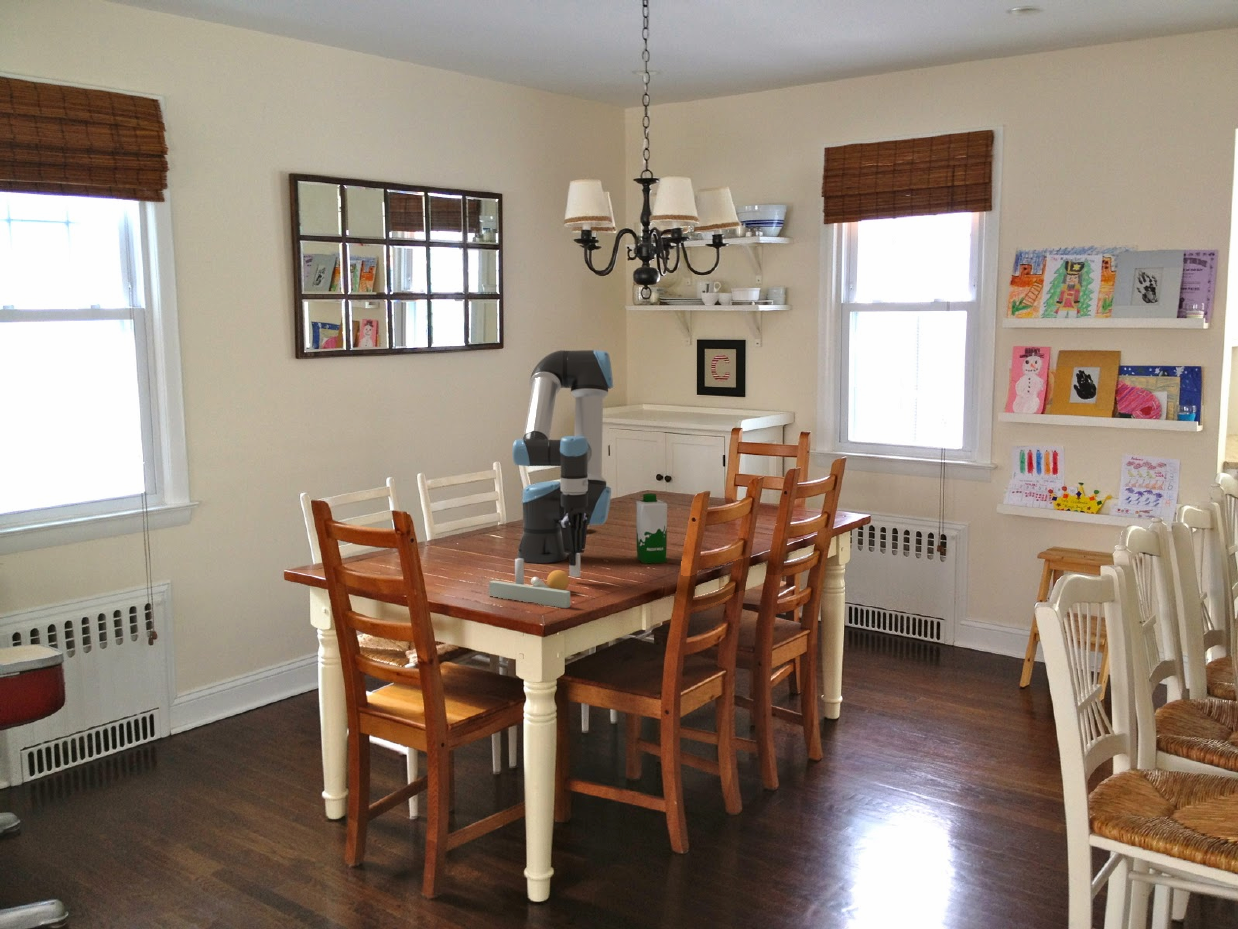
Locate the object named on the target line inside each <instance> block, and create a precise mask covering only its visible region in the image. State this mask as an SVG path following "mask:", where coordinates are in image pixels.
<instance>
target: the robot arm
mask: <svg viewBox="0 0 1238 929" xmlns="http://www.w3.org/2000/svg"><path fill="white" fill-rule="evenodd" d="M611 362H612V361H611V357H610V355H609V353H608V352H607V351H605V350H595V349H592V350H589V349H588V350H587V349H586V350H562V349H561V350H556V351H553V352H551V353H549V354H548V355H546V356H545V357H543V358H542V359H541V360H540V361H539V362H538V363H537V364H536V366H535V367H534V368H533V370H532V372H531V375H530V378H529V379H530V380H529V388H530V390H531V392H530V398H529V401H528V402H529V403H528V408H527V413H526V418H525V424H524V429H523V435H522V438H519V439H515V440H514V442H513V444H512V460H513V463H514V464H515V465H517V466H522V467H560V480H559V481H558V480H557V481H556V480H555V481H553V480H549V481H542V482H537V483H533V484H528V485H527V486H525V487H524V489H523V491H522V501H521V502H522V503H521V504H522V531H523V532H522V536H521V540H520V542H519V547H518V549H517V558H523V559H524V563H525V562H526V563H534V564H550V563H557V562H563V561H565V560H567V559H568V566H569V567H568V570H569V571H568V572H569V574H568V577H571V578H572V577H573V578H580V577H581V554H584V553H585V549H586V545H587V542H586V541H587V536H588V535H587V534H588V526H590V527H591V526H601V525H604V524H605V523H606V521H607V520H608V516H609V512H610V508H611V507H610V505H611V498H612V497H611V495H612V488H611V487H609V486H607V480H606V479H605V478H604V477H603V475H602V472H603V471H602V468H603V467H602V466H603V428H604V427H603V425H604V422H603V421H604V420H603V419H604V400H605V398H607V396H608V395H609V390H610V389H613V387H614V381H613V379H614V378H613V371H612V370H613V369H612V363H611ZM561 389H570V395H571V396H572V397H573V398H574V400H575V401H574V402H575V404H574V435H567V436H566V435H565V436H562V437H561V439H550V435H551V430H552V422H553V417H554V411H555V410H554V409H555V405H556V398H557V394H558V393H560V390H561Z"/></svg>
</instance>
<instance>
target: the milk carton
mask: <svg viewBox="0 0 1238 929" xmlns="http://www.w3.org/2000/svg"><path fill="white" fill-rule="evenodd" d="M635 504H636V556H637V557H636V558H637V559H638V561H640V562H641V563H643V564H659V563H667V551H668V550H667V548H668V547H667V545H668V544H667V542H668V537H667V536H668V530H667V529H668V526H667V525H668V503H666V502H665V501H663V500H660V499H657V494H656V493H644V494H642V500H641V499H640V500H636V503H635Z"/></svg>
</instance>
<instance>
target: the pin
mask: <svg viewBox="0 0 1238 929" xmlns="http://www.w3.org/2000/svg"><path fill="white" fill-rule="evenodd" d="M530 584H531V586H537V587H544V588H550V587H549V586H548V584H547V583H545V582H544V581H543V580H542V579H541V578H539V576H533V577H532V578H531V579H530Z"/></svg>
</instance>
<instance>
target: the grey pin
mask: <svg viewBox="0 0 1238 929" xmlns="http://www.w3.org/2000/svg"><path fill="white" fill-rule="evenodd" d="M514 579H515V580H514V583H515V584H522V585H525V562H524V559H523V558H518V557H517V558H515V559H514Z"/></svg>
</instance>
